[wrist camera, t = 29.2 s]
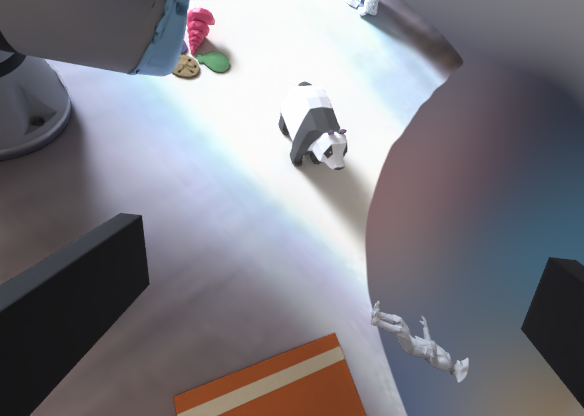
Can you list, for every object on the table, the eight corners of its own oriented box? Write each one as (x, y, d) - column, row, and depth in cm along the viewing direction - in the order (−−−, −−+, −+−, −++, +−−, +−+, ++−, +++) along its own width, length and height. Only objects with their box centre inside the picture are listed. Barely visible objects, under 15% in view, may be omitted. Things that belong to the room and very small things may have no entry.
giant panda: (272, 117, 51) (291, 67, 43) (303, 116, 53) (326, 68, 45) (303, 196, 46) (331, 157, 38) (336, 191, 48) (369, 153, 40)
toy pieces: (151, 22, 52) (149, -5, 49) (220, 31, 57) (223, 6, 53) (159, 76, 48) (158, 50, 44) (233, 80, 52) (238, 57, 48)
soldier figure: (376, 291, 43) (469, 329, 41) (364, 323, 44) (454, 362, 42) (376, 314, 36) (489, 362, 33) (361, 352, 37) (471, 401, 34)
